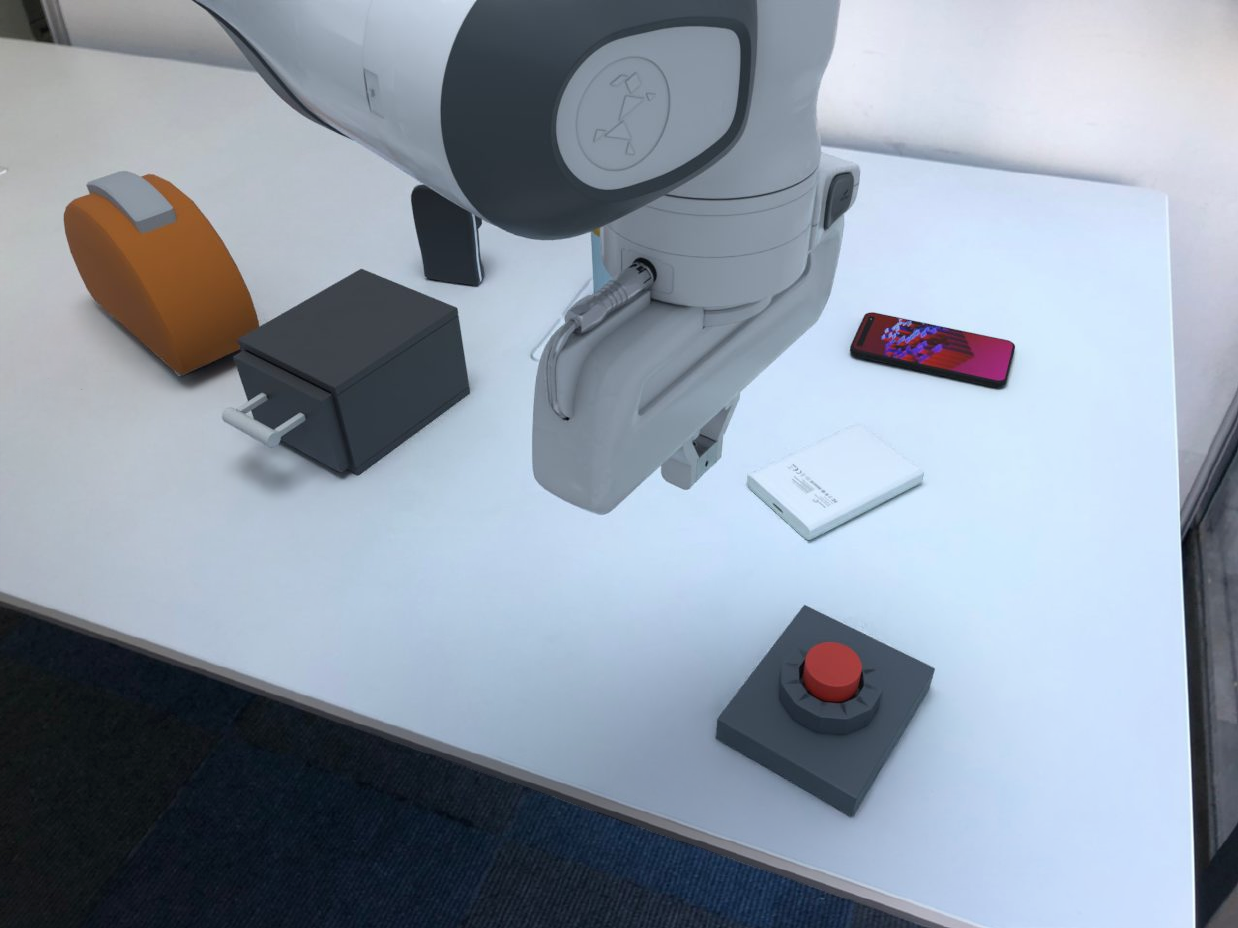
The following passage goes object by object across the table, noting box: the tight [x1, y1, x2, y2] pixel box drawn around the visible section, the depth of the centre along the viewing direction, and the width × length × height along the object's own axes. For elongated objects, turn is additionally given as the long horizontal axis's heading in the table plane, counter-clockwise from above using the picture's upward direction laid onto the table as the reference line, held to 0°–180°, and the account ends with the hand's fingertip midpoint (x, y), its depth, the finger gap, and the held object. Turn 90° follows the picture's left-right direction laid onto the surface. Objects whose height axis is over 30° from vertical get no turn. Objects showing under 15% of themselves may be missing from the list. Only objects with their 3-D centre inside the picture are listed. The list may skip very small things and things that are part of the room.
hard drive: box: [746, 422, 925, 541], centre depth 85 cm, size 2×8×12 cm
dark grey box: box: [237, 268, 471, 476], centre depth 92 cm, size 15×13×10 cm
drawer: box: [221, 350, 351, 473], centre depth 90 cm, size 18×11×8 cm, turn 144°
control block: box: [715, 604, 936, 818], centre depth 67 cm, size 12×10×4 cm
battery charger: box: [410, 182, 485, 286], centre depth 110 cm, size 7×4×11 cm, turn 73°
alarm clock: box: [63, 170, 261, 377], centre depth 101 cm, size 23×9×17 cm, turn 44°
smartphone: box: [849, 312, 1016, 388], centre depth 99 cm, size 8×1×15 cm
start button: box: [803, 642, 862, 703], centre depth 65 cm, size 4×4×2 cm
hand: (691, 470), depth 51 cm, fingers closed
